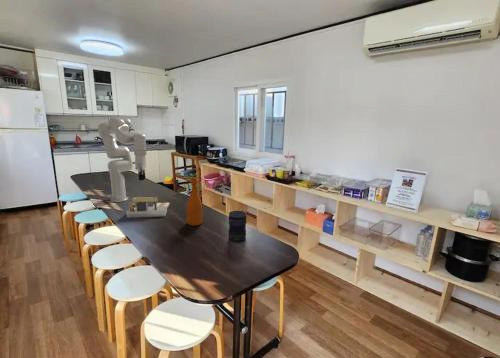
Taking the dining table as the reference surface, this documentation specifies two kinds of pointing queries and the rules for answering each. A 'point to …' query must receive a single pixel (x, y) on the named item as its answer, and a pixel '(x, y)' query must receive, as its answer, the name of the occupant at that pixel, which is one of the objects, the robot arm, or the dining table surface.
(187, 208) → the wine bottle
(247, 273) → the dining table surface
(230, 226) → the black camera lens
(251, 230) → the dining table surface
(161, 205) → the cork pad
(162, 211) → the plane body
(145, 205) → the dark grey block
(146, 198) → the latch lever
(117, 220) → the dining table surface
